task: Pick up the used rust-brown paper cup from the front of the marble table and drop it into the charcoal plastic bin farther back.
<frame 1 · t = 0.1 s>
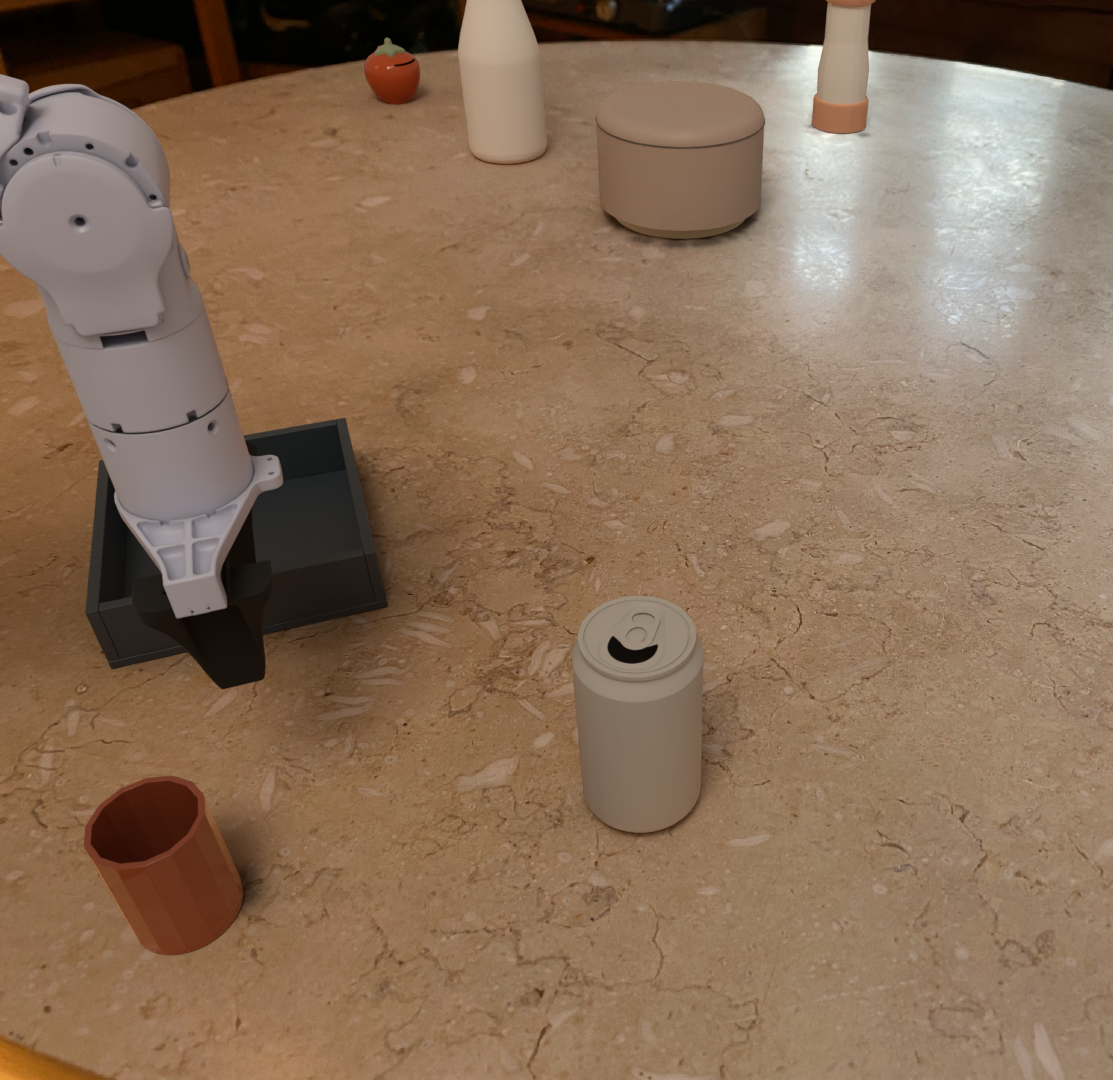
hand: (238, 628, 55), 9 cm above the table, tool pointing down, fingers open, 7 cm apart
pepper shaker: (838, 126, 146), on the table
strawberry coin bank: (397, 101, 150), on the table
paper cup: (189, 908, 53), on the table
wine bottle: (509, 154, 135), on the table
container: (680, 212, 122), on the table
bin: (247, 557, 74), on the table
beverage can: (642, 794, 59), on the table
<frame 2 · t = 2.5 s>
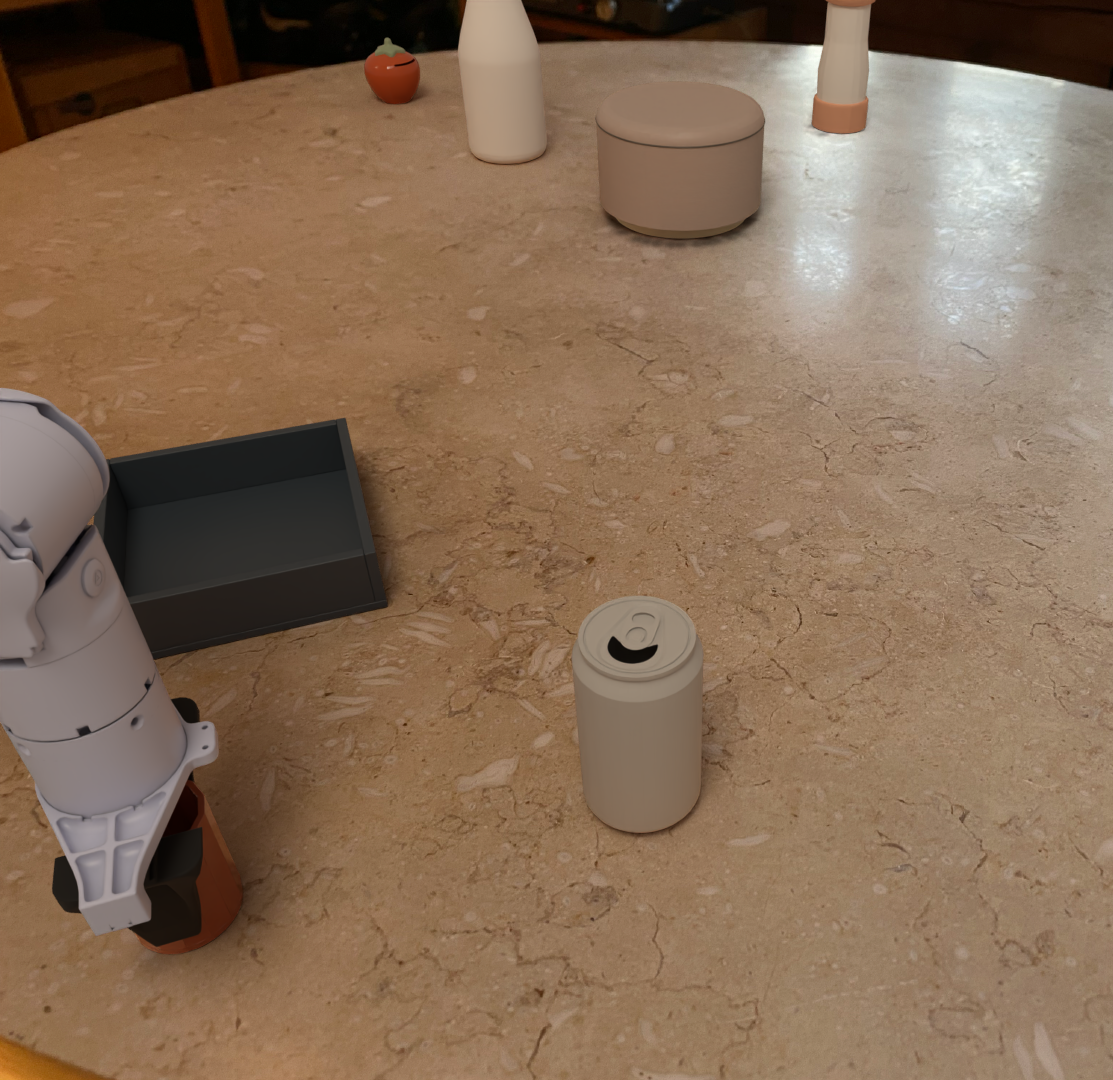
hand: (177, 884, 52), 2 cm above the table, tool pointing down, fingers closed on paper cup, 5 cm apart
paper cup: (189, 907, 53), on the table, touching gripper
everything else where it was.
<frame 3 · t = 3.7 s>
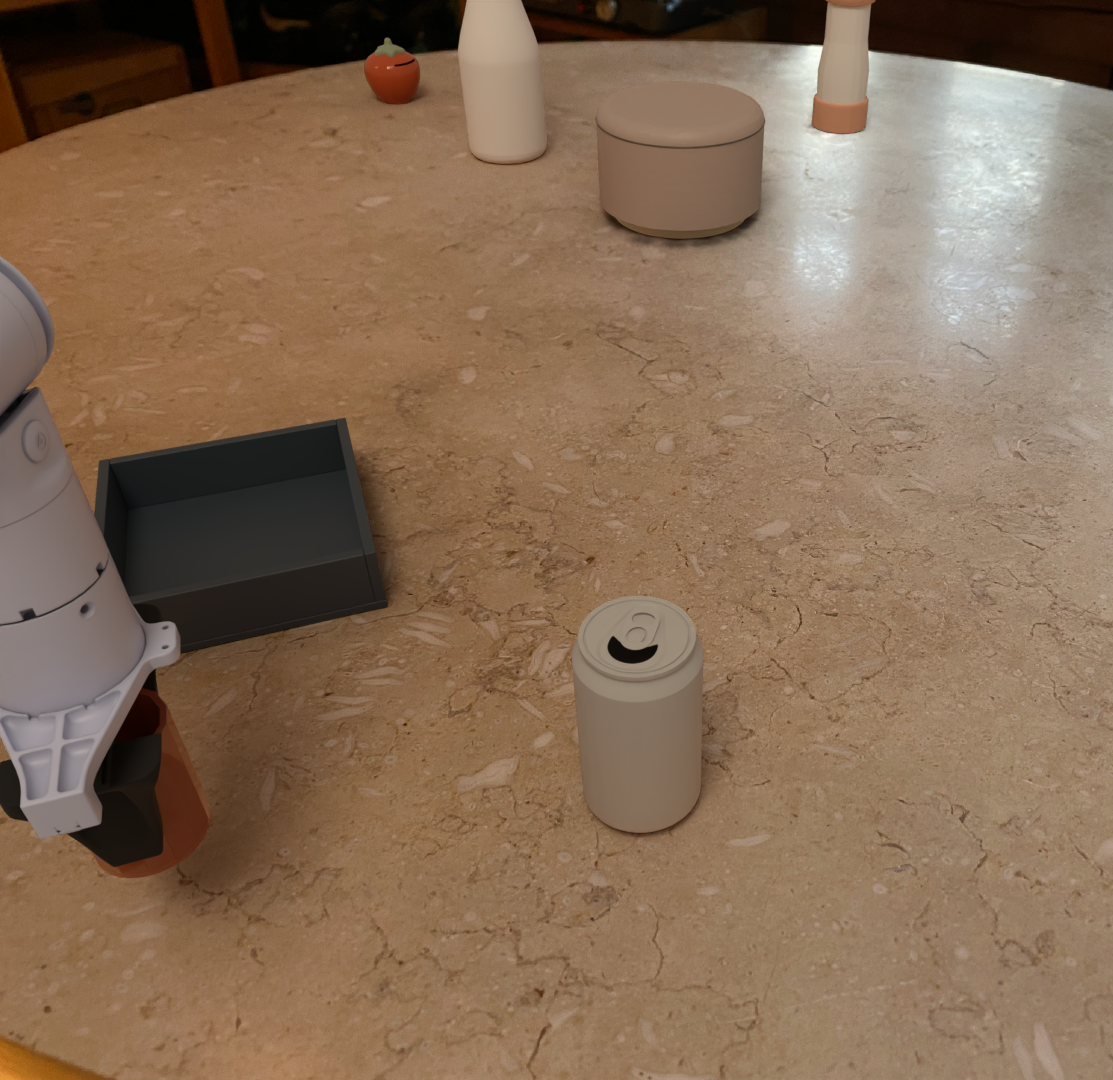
hand: (139, 804, 49), 8 cm above the table, tool pointing down, fingers closed on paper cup, 5 cm apart
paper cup: (152, 831, 50), point 6 cm above the table, touching gripper
everything else where it was.
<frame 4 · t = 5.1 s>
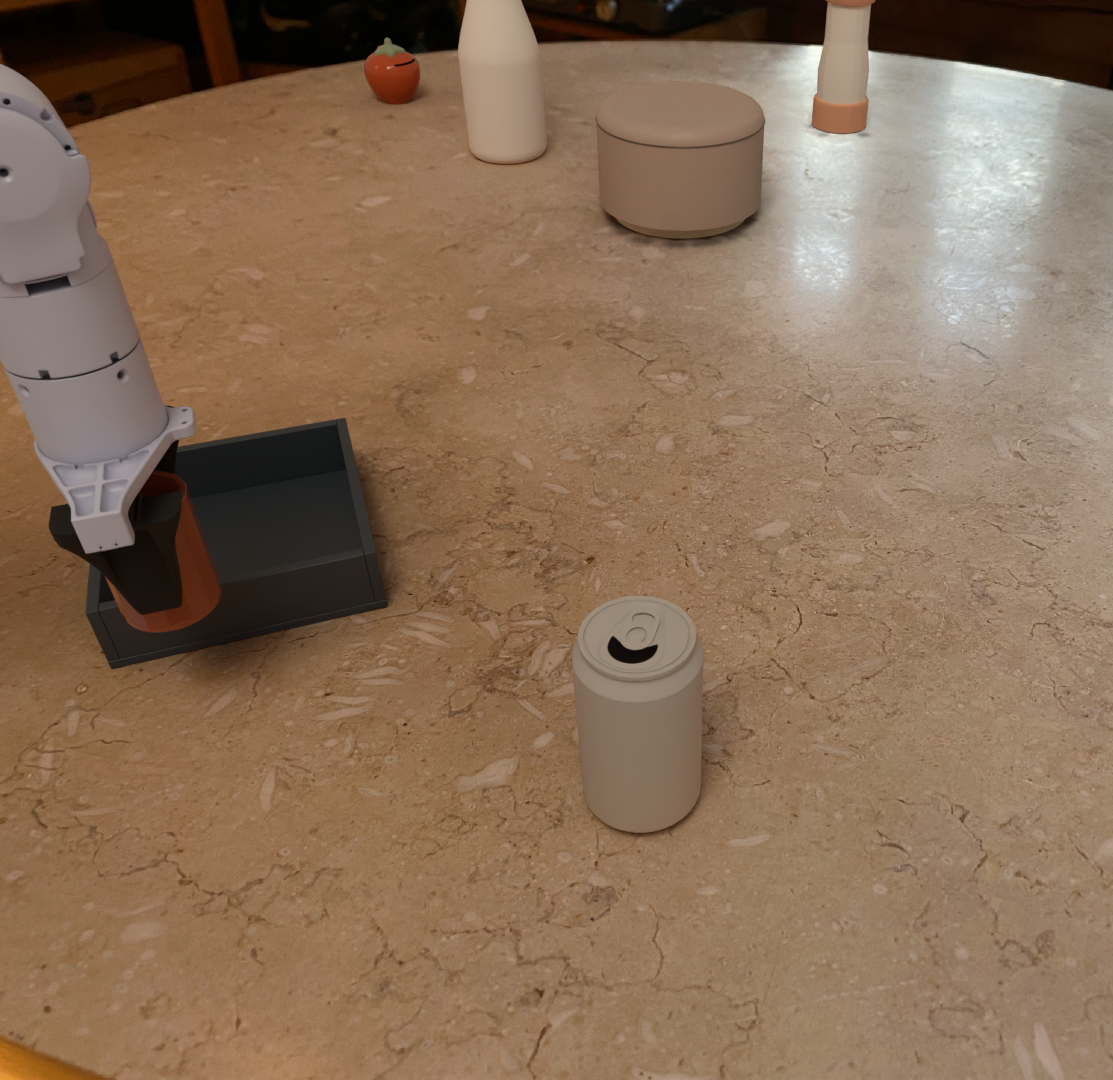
hand: (161, 573, 58), 9 cm above the table, tool pointing down, fingers closed on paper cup, 5 cm apart
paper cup: (173, 601, 60), point 7 cm above the table, touching gripper
everything else where it was.
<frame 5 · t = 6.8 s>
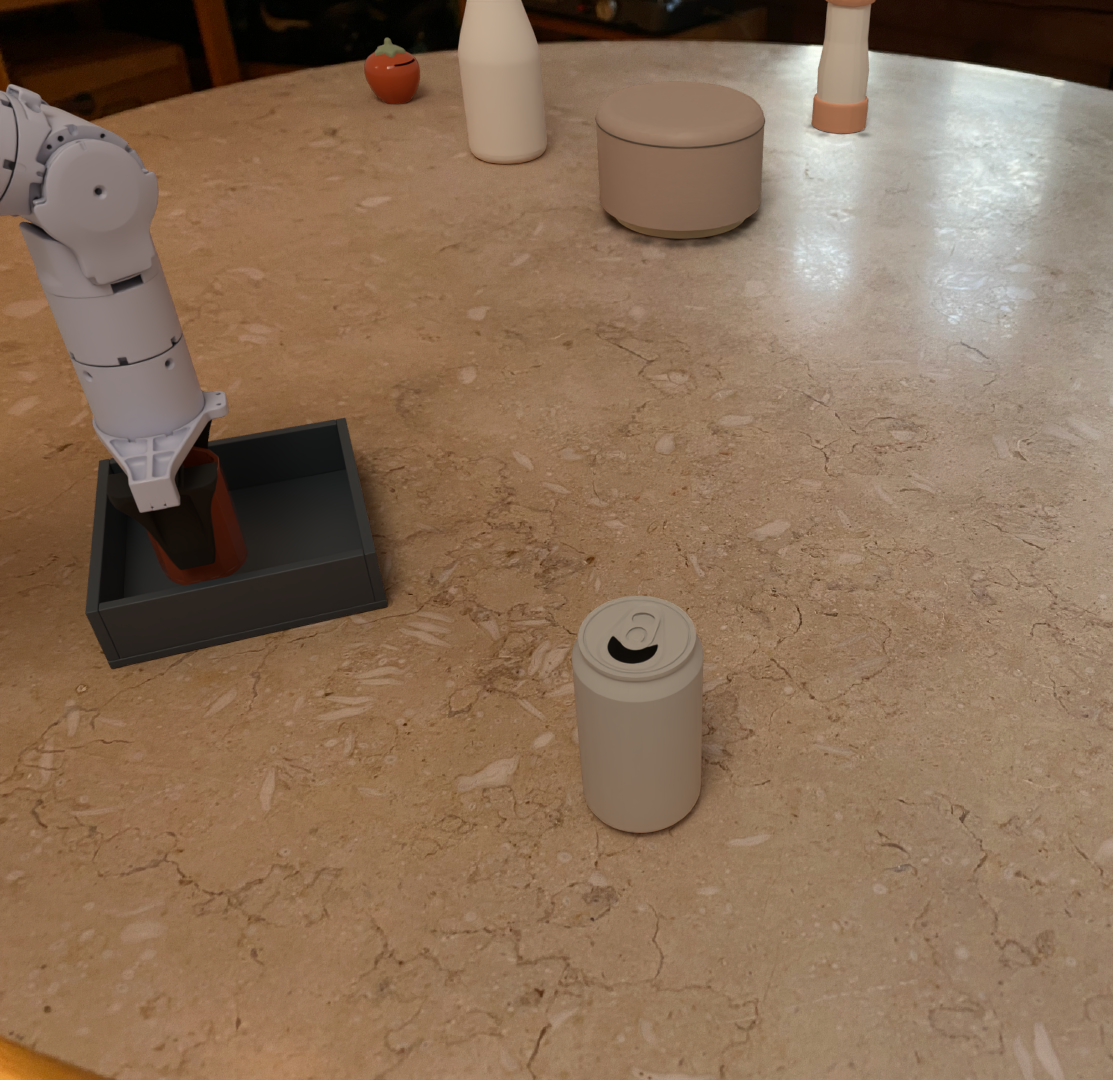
hand: (196, 536, 68), 5 cm above the table, tool pointing down, fingers closed on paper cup, 5 cm apart
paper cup: (206, 560, 69), point 3 cm above the table, touching gripper
everything else where it was.
when the fingers open (3 cm above the table, at t = 8.2 s): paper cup stays where it is, resting on bin.
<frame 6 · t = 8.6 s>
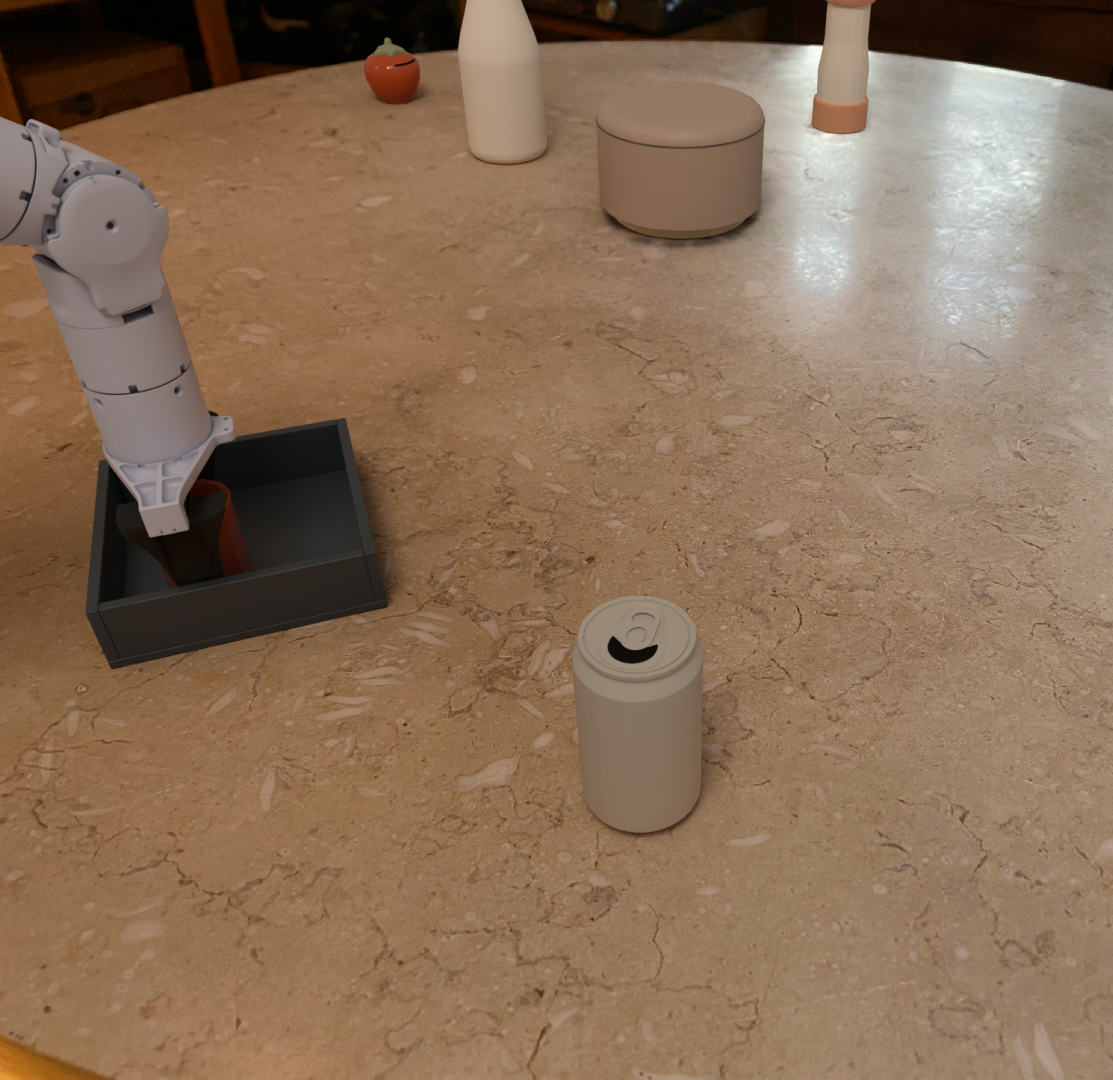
hand: (203, 557, 69), 3 cm above the table, tool pointing down, fingers open, 6 cm apart
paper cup: (216, 589, 71), point 1 cm above the table, touching bin
everything else where it was.
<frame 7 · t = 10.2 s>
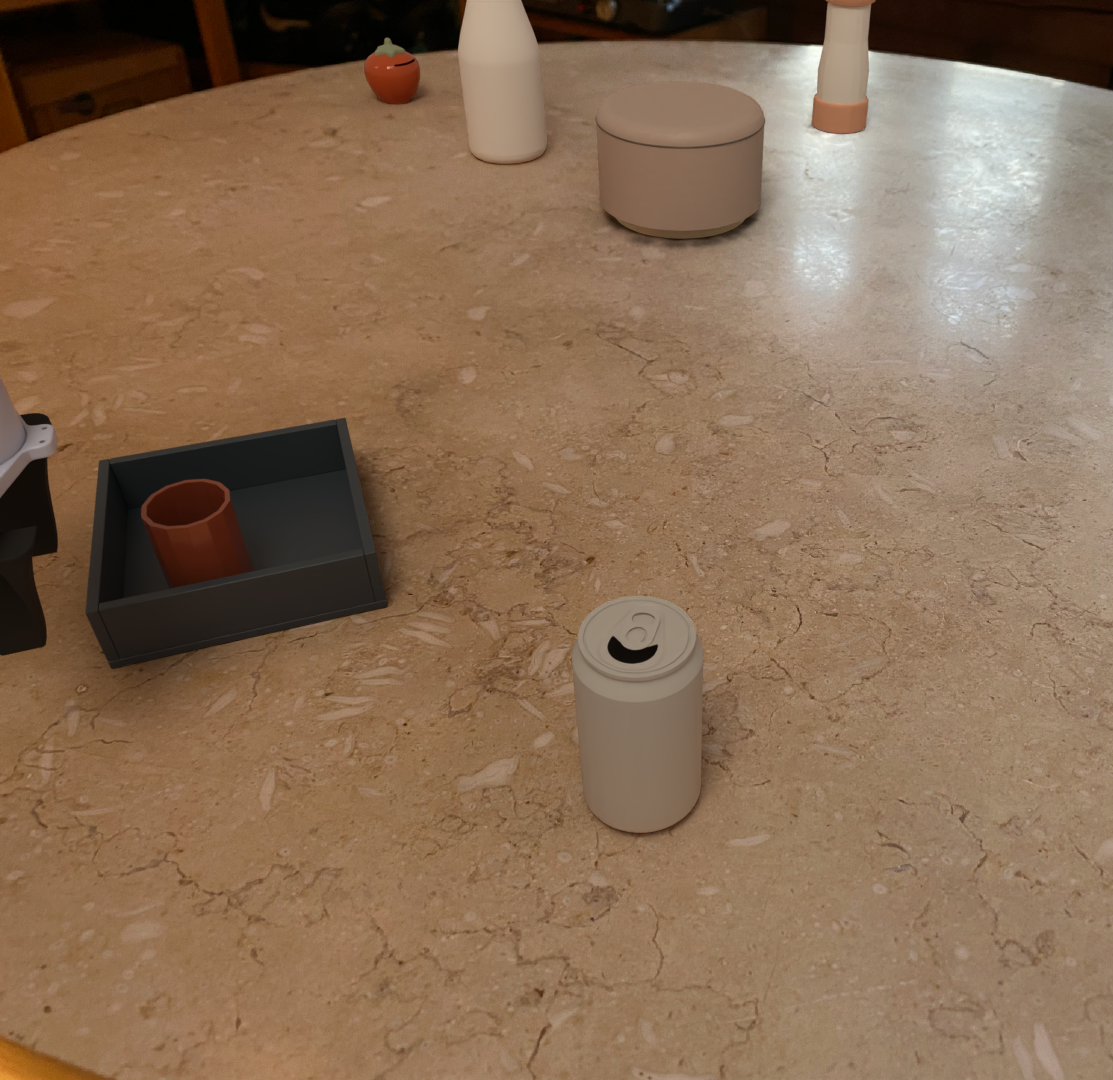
hand: (30, 597, 56), 10 cm above the table, tool pointing down, fingers open, 7 cm apart
nothing on the table moved.
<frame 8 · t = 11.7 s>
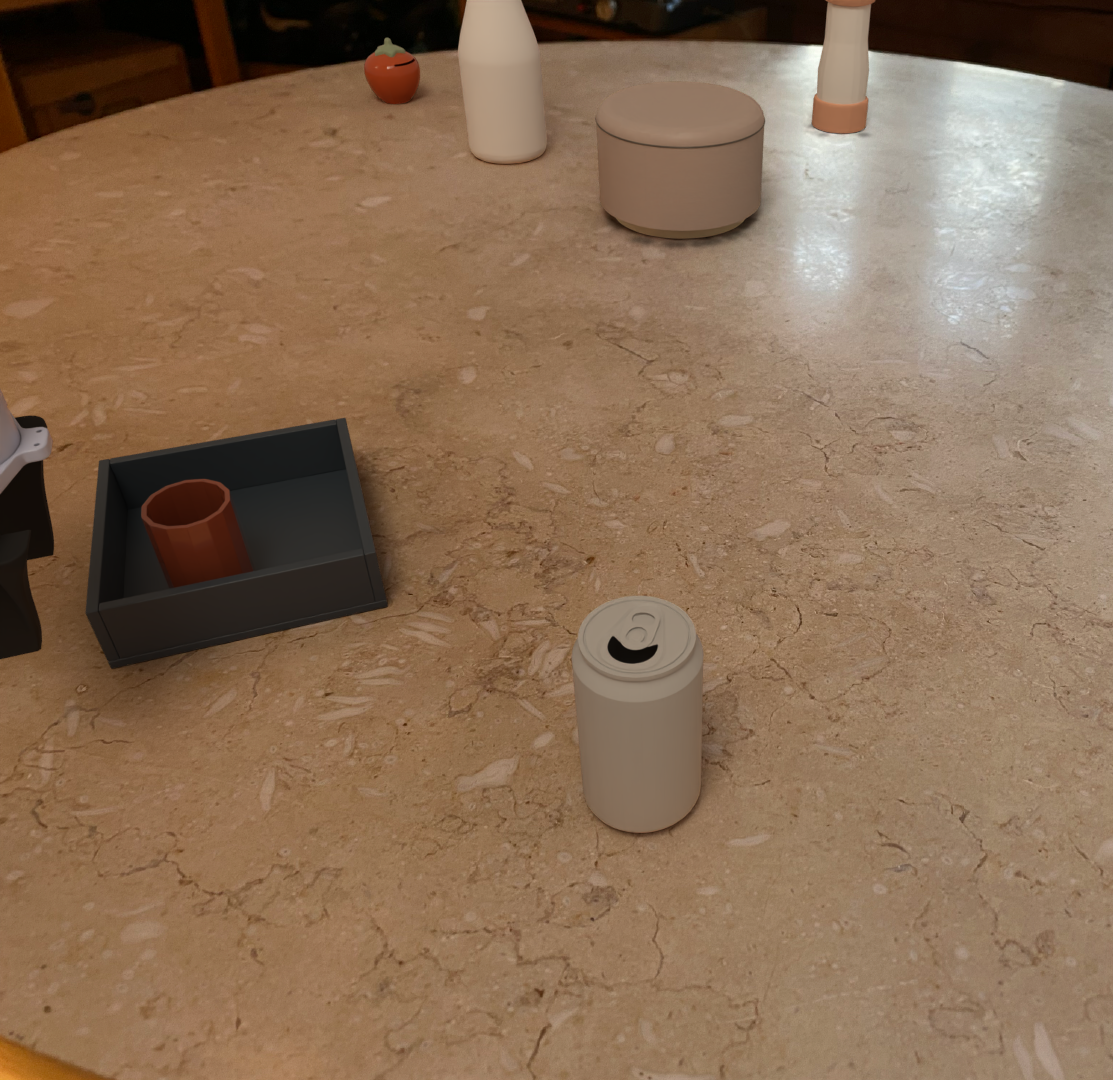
hand: (26, 601, 56), 10 cm above the table, tool pointing down, fingers open, 7 cm apart
nothing on the table moved.
at the end: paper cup inside the target area in the bin (3.9 cm from its centre), point 0.6 cm above the bin's base; the gripper is holding nothing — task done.
